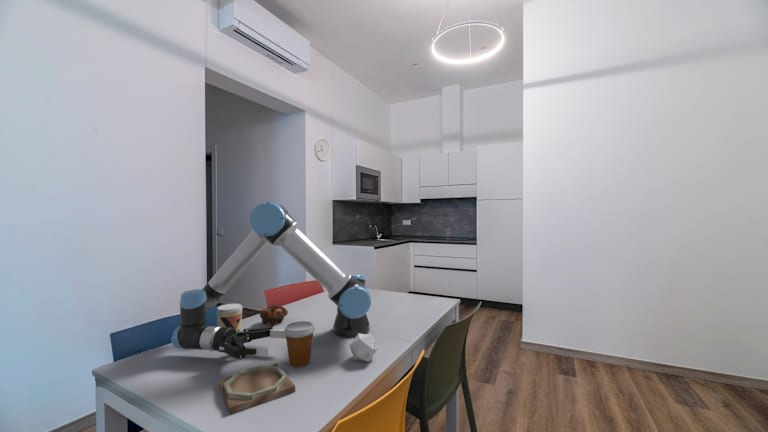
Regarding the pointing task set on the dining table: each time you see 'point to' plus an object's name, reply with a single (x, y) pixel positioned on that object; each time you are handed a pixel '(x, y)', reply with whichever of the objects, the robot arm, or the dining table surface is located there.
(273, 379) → the cup holder board
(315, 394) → the dining table surface
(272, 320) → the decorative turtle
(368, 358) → the die
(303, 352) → the disposable coffee cup
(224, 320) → the coffee cup
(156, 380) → the dining table surface
